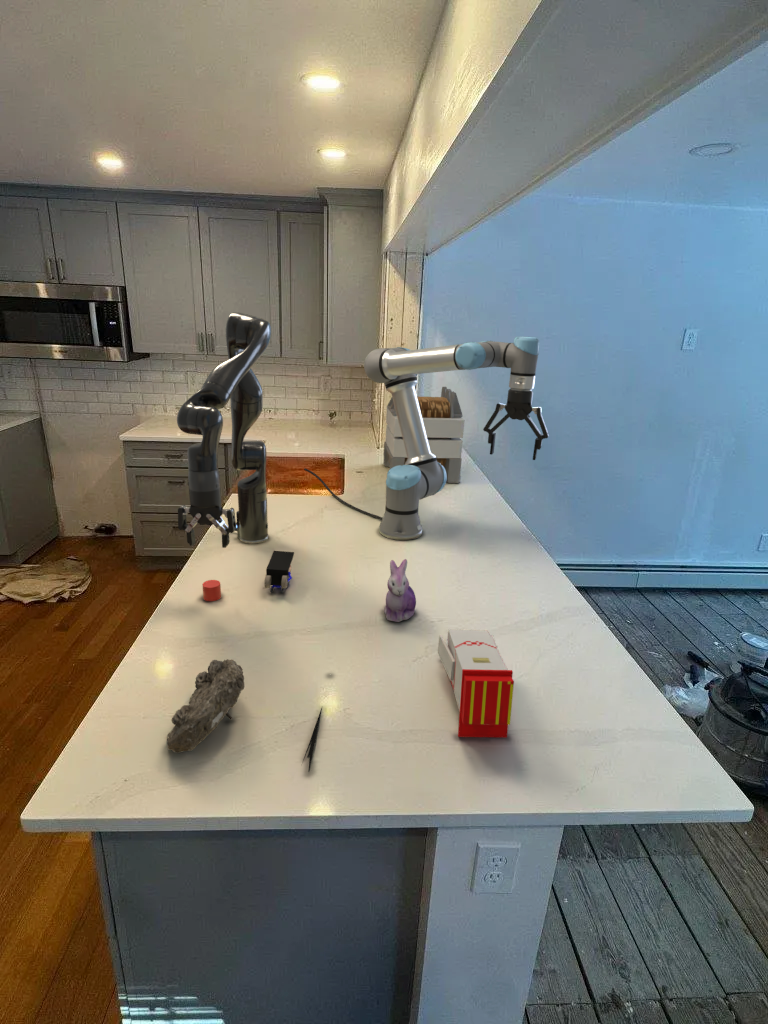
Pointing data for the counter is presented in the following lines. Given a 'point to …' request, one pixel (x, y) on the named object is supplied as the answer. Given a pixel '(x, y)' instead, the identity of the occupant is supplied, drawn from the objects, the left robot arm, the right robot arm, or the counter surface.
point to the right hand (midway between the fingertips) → (512, 456)
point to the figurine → (399, 594)
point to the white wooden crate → (430, 433)
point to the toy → (478, 682)
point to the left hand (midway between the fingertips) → (208, 545)
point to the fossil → (206, 705)
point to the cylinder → (211, 590)
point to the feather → (313, 740)
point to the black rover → (279, 570)
